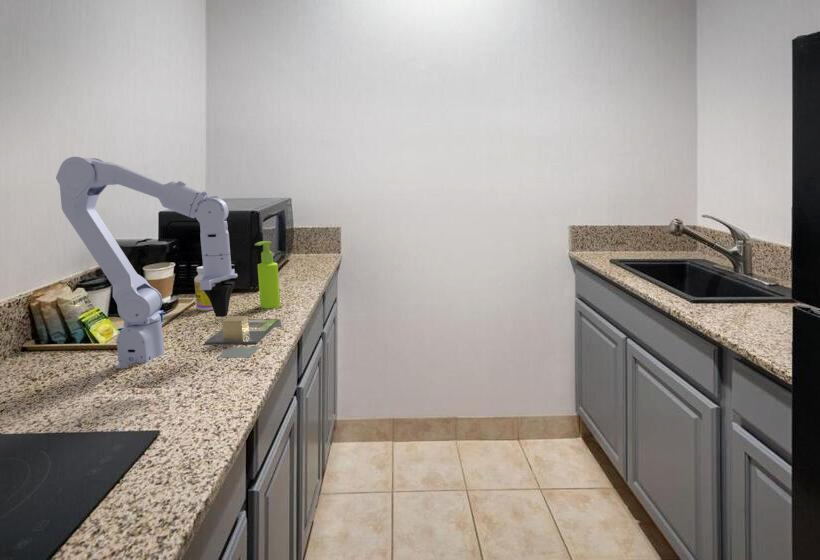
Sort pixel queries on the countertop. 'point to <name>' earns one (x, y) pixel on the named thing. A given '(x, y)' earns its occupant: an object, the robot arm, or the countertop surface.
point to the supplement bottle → (201, 293)
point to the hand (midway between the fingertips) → (221, 316)
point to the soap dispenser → (268, 278)
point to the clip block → (235, 328)
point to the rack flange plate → (254, 334)
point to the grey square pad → (238, 352)
